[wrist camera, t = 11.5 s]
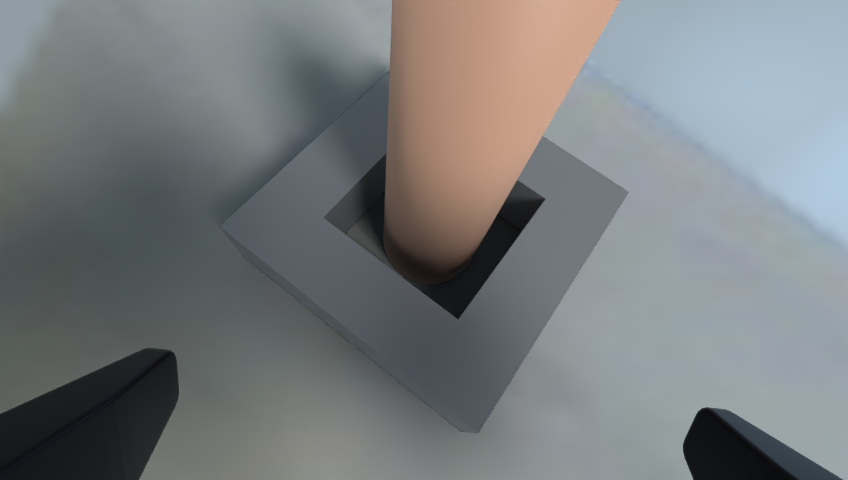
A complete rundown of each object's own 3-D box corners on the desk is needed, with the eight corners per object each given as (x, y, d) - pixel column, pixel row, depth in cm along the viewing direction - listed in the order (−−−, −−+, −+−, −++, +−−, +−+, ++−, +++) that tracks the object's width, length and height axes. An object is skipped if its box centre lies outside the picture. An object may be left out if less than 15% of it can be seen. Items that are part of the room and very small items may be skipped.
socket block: (460, 431, 16) (478, 432, 13) (243, 256, 18) (219, 226, 15) (594, 223, 20) (628, 192, 17) (406, 98, 22) (411, 51, 19)
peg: (439, 302, 18) (598, -5, 5) (364, 246, 19) (337, -154, 6) (491, 234, 19) (716, -139, 7) (420, 183, 20) (498, -246, 7)
